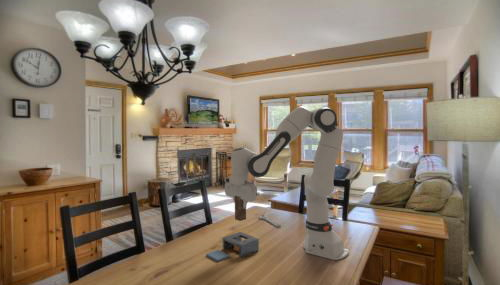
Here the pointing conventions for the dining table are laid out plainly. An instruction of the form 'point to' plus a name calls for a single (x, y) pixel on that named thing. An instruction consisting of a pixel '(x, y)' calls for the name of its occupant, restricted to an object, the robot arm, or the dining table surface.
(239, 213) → the brown block
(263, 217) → the adjustable wrench
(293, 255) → the dining table surface
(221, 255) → the pad
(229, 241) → the guard
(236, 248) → the button
